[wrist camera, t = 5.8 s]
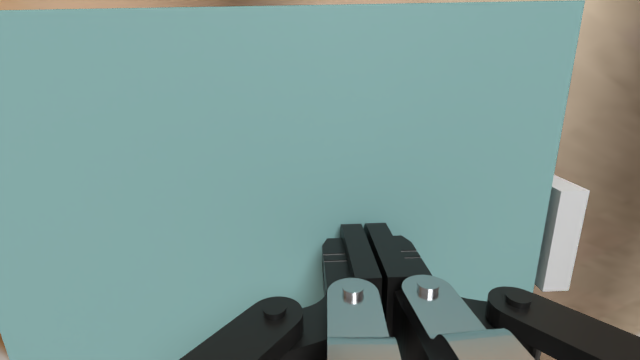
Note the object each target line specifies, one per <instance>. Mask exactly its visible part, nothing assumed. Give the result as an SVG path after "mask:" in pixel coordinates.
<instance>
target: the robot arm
mask: <svg viewBox="0 0 640 360" xmlns="http://www.w3.org/2000/svg"><path fill="white" fill-rule="evenodd" d="M322 273H323V291H324V297H323V299H321V300H320V301H319V302H317V303H315V304H313V305H311V306H308V307H304V308H302V307H301V305H300V304H299V303H298V302H297V301H296V300H294V299H291V298H288V297H282V296H275V297H269V298H265V299H262V300H260V301H258V302H257V303H255V304H254V305H252V306H251V307H249V308H248V309H247V310H245V311H244V312H243V313H241V314H240V315H239V316H237V317H236V318H235V319H233V320H232V321H231V322H229V323H228V324H226V325H225V326H224V327H222V328H221V329H220V330H218V331H217V332H216V333H214V334H213V335H212V336H210V337H209V338H207V339H206V340H205V341H203V342H202V343H201V344H199V345H198V346H197V347H195V348H194V349H193V350H191V351H190V352H189V353H187V354H186V355H184V356H183V357H182V358H180V359H179V360H540V355H541V352H543V353H545V354H547V355H549V356H551V357H553V358H555V359H557V360H640V337H638V336H636V335H633V334H631V333H628V332H626V331H624V330H621V329H619V328H616V327H614V326H611V325H609V324H607V323H604V322H602V321H599V320H597V319H595V318H592V317H590V316H587V315H585V314H582V313H580V312H578V311H575V310H573V309H570V308H568V307H565V306H563V305H561V304H558V303H556V302H553V301H551V300H548V299H546V298H544V297H541V296H539V295H536V294H534V293H532V292H529V291H526V290H524V289H520V288H516V287H508V286H503V287H496V288H494V289H492V290H490V292H489V293H488V298H487V301H480V300H474V299H467V298H463V297H460V296H459V294H458V293H457V292H456V291H455V289H454V288H453V287H452V286H451V285H450V284H449V283H448V282H446V281H445V280H443V279H441V278H438V277H435V276H432V274H431V273H430V271H429V269H428V268H427V266H426V264H425V263H424V261H423V260H422V258H421V257H420V255H419V253H418V252H417V251H416V248H415V247H414V245H413V244H412V242H411V241H409V240H408V239H406V238H405V237H403V236H402V235H398V236H393V235H392V233H391V231H390V229H389V228H388V226H387V224H386V223H365V224H364V229H363V226H362V224H341V226H340V238H327V239H326V241H325V242H324V244H323V245H322Z"/></svg>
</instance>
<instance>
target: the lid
mask: <svg viewBox="0 0 640 360" xmlns="http://www.w3.org/2000/svg"><path fill="white" fill-rule="evenodd" d="M584 3H585V0H581V1H523V2H464V3H405V4H347V5H288V6H229V7H171V8H112V9H53V10H0V333H1V336H2V339H3V342H4V345H5V348H6V350H7V353H8V356H9V359H10V360H179V359H180V358H182V357H183V356H184V355H186V354H187V353H189V352H190V351H191V350H193V349H194V348H195V347H197V346H198V345H199V344H201V343H202V342H203V341H205V340H206V339H207V338H209V337H210V336H212V335H213V334H214V333H216V332H217V331H218V330H220V329H221V328H222V327H224V326H225V325H226V324H228V323H229V322H231V321H232V320H233V319H235V318H236V317H237V316H239V315H240V314H241V313H243V312H244V311H245V310H247V309H248V308H249V307H251V306H252V305H254V304H255V303H257V302H258V301H260V300H262V299H265V298H269V297H275V296H282V297H288V298H291V299H294V300H296V301H297V302H298V303H299V304H300V305H301V307H302V308H304V307H308V306H311V305H313V304H315V303H317V302H319V301H320V300H321V299H323V297H324V291H323V273H322V245H323V244H324V242H325V241H326V239H327V238H340V226H341V224H362V226H363V229H364V224H365V223H386V224H387V226H388V228H389V229H390V231H391V233H392V235H393V236H398V235H402V236H403V237H405V238H406V239H408V240H409V241H411V242H412V244H413V245H414V247H415V248H416V251H417V252H418V253H419V255H420V257H421V258H422V260H423V261H424V263H425V264H426V266H427V268H428V269H429V271H430V273H431V274H432V276H435V277H438V278H441V279H443V280H445V281H446V282H448V283H449V284H450V285H451V286H452V287H453V288H454V289H455V291H456V292H457V293H458V294H459V296H460V297H463V298H467V299H474V300H480V301H487V298H488V293H489V292H490V290H492V289H494V288H496V287H503V286H508V287H516V288H520V289H524V290H526V291H529V292H532V293H533V289H534V284H535V285H536V286H537V287H538V288H539V289H540V290H541V291H542V292H547V291H569V287H570V282H571V277H572V273H573V268H574V263H575V258H576V254H577V249H578V244H579V240H580V235H581V230H582V225H583V221H584V216H585V211H586V206H587V202H588V197H589V192H590V190H587V189H585V188H583V187H581V186H578V185H576V184H574V183H572V182H570V181H567V180H565V179H563V178H561V177H558V176H556V175H554V171H555V166H556V160H557V154H558V149H559V143H560V138H561V132H562V126H563V121H564V115H565V110H566V104H567V98H568V93H569V87H570V81H571V76H572V70H573V65H574V59H575V53H576V48H577V42H578V36H579V31H580V25H581V20H582V14H583V8H584Z"/></svg>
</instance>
